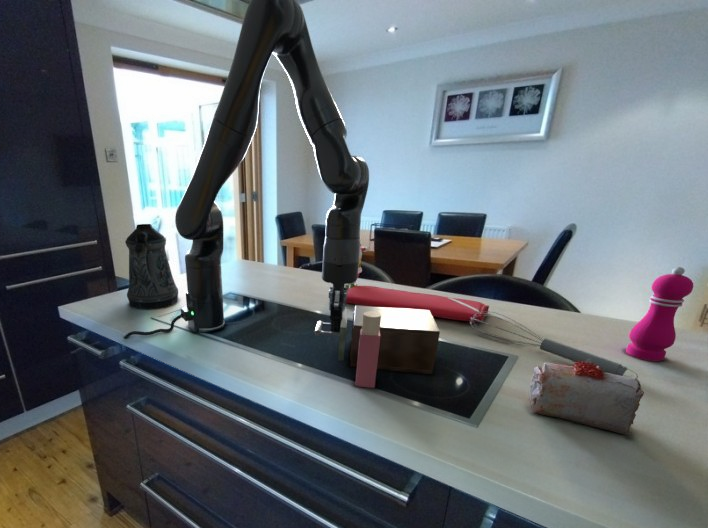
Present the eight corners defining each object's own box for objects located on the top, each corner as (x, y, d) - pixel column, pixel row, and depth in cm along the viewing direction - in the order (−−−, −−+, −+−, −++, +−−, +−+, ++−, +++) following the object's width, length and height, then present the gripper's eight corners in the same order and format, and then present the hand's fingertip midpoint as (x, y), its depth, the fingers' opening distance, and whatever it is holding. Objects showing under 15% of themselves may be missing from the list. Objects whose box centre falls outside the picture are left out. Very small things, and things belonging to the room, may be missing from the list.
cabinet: (350, 366, 84) (353, 325, 80) (352, 342, 96) (355, 305, 93) (432, 374, 80) (440, 331, 77) (423, 348, 92) (429, 310, 89)
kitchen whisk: (630, 387, 75) (641, 357, 72) (462, 333, 101) (467, 310, 99) (641, 378, 78) (652, 349, 75) (475, 328, 104) (480, 306, 102)
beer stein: (169, 292, 140) (162, 220, 130) (189, 306, 125) (182, 226, 115) (123, 299, 132) (111, 223, 123) (137, 315, 117) (125, 230, 107)
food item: (525, 414, 67) (540, 363, 63) (525, 394, 73) (539, 346, 69) (630, 441, 60) (654, 385, 56) (621, 416, 66) (642, 364, 62)
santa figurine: (341, 299, 129) (345, 242, 122) (325, 296, 132) (328, 241, 125) (373, 284, 147) (378, 233, 139) (358, 281, 150) (363, 232, 143)
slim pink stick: (355, 386, 76) (362, 316, 71) (355, 378, 79) (362, 310, 73) (374, 388, 75) (382, 317, 70) (374, 380, 78) (381, 312, 73)
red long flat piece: (357, 291, 138) (358, 281, 136) (488, 312, 115) (490, 300, 114) (338, 302, 126) (338, 291, 125) (479, 328, 104) (481, 315, 102)
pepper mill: (655, 350, 89) (691, 264, 82) (674, 364, 83) (715, 272, 75) (616, 347, 92) (648, 262, 84) (632, 359, 85) (668, 269, 78)
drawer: (311, 357, 86) (313, 325, 83) (317, 337, 97) (319, 307, 94) (412, 367, 81) (418, 333, 78) (407, 344, 92) (411, 313, 89)
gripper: (325, 252, 89) (322, 323, 96) (319, 264, 78) (315, 343, 84) (359, 253, 88) (353, 325, 94) (358, 266, 76) (351, 347, 82)
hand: (335, 334), depth 89 cm, fingers closed
